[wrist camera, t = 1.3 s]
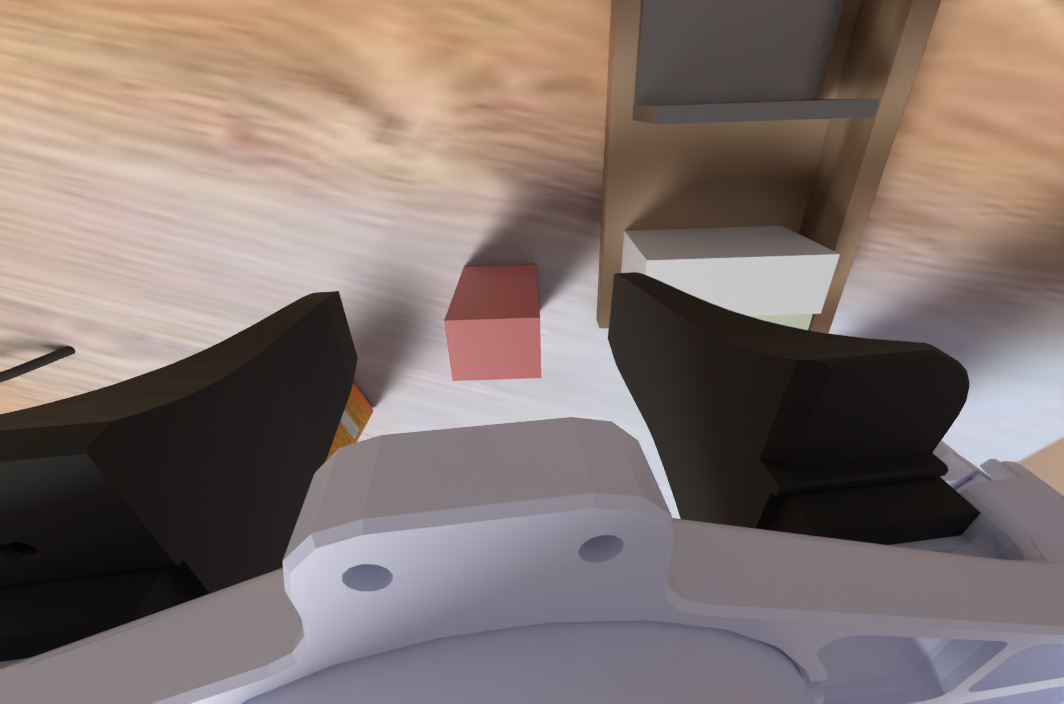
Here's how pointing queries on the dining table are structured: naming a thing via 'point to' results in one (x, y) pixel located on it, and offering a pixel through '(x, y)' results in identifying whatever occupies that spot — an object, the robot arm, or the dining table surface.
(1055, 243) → the dining table surface
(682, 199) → the shelf board
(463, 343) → the red block
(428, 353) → the dining table surface
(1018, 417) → the dining table surface
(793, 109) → the bookend
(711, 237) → the books
